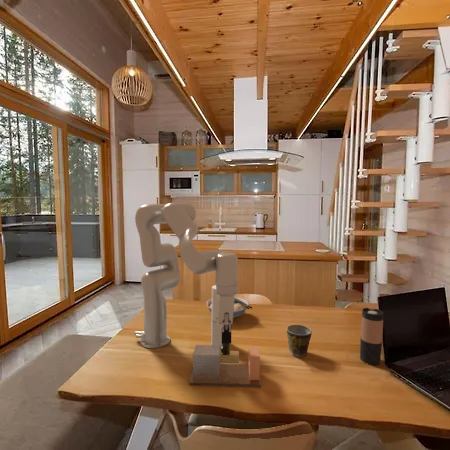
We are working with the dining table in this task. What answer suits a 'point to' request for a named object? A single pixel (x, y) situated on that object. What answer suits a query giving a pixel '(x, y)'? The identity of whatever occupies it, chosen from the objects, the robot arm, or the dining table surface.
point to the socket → (254, 363)
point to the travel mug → (371, 336)
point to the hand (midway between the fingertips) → (226, 336)
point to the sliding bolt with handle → (228, 354)
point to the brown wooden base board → (218, 370)
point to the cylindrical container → (215, 319)
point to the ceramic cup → (298, 339)
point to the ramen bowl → (239, 306)
